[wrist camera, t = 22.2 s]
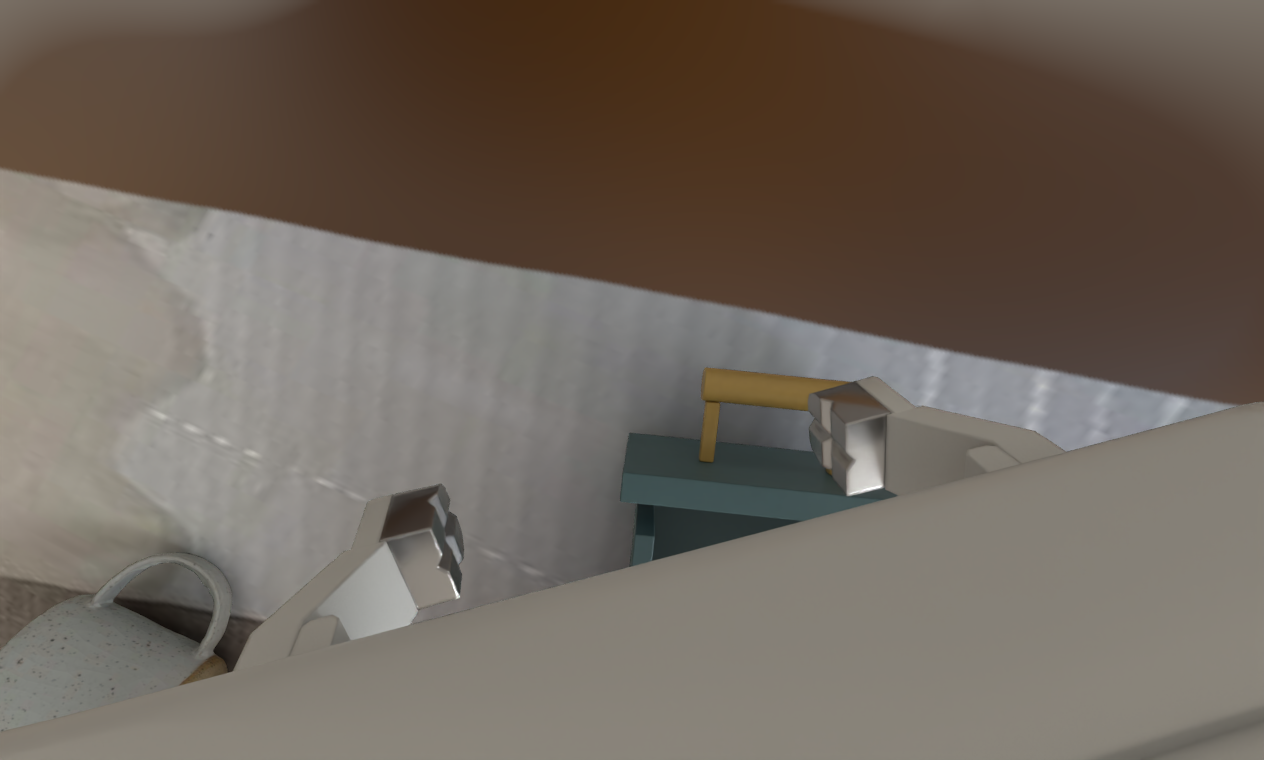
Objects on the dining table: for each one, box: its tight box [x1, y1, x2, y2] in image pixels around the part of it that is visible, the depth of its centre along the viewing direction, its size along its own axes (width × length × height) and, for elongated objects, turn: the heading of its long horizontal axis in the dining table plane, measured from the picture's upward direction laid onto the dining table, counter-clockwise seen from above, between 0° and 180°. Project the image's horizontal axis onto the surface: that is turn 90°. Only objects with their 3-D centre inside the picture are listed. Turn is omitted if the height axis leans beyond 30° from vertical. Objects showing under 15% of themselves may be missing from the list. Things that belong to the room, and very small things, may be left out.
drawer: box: [620, 367, 898, 567], centre depth 28 cm, size 20×12×7 cm, turn 174°
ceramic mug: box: [0, 553, 232, 732], centre depth 30 cm, size 11×8×8 cm
